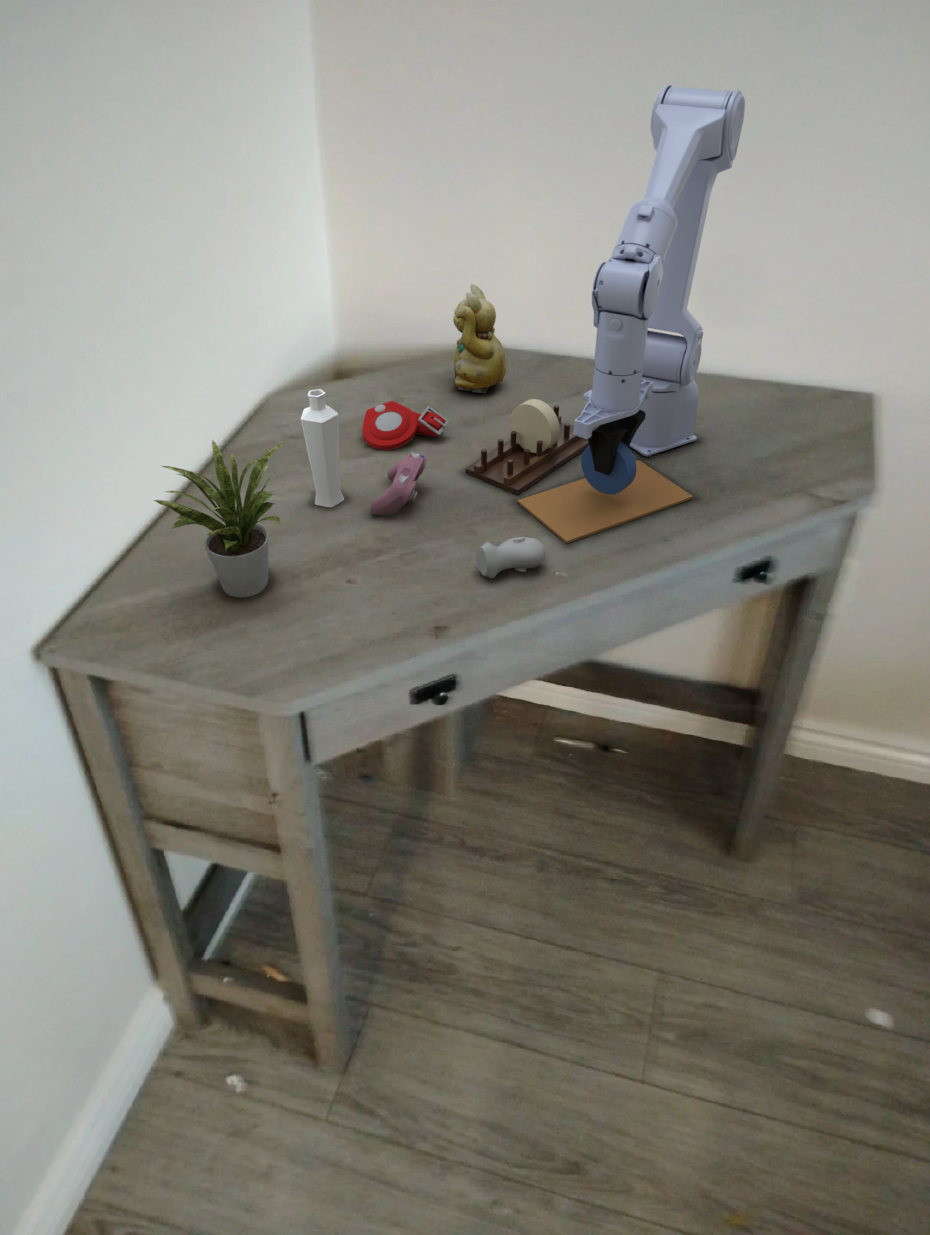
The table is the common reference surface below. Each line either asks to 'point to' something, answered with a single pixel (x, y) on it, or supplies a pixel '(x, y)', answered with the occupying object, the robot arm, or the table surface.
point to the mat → (602, 504)
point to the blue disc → (619, 476)
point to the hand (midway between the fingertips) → (608, 467)
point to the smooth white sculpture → (510, 556)
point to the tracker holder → (399, 425)
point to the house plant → (232, 524)
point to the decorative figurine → (477, 344)
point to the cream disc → (535, 425)
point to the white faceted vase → (323, 448)
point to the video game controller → (400, 484)
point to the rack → (526, 460)
